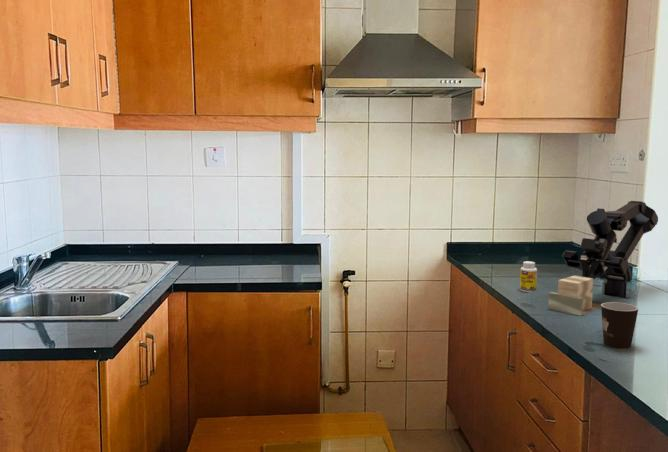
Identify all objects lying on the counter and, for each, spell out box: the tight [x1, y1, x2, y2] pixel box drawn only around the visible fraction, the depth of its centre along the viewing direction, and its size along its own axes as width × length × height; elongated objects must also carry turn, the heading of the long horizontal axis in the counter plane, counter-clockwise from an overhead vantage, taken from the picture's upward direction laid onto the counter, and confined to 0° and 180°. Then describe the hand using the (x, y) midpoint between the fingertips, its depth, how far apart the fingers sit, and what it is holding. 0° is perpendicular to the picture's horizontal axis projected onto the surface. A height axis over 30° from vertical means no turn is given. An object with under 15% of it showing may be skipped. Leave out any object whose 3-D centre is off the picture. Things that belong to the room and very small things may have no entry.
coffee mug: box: [600, 301, 639, 350], centre depth 157 cm, size 12×9×10 cm
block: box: [557, 275, 594, 311], centre depth 184 cm, size 10×6×9 cm, turn 132°
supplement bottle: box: [519, 260, 538, 293], centre depth 212 cm, size 6×6×10 cm
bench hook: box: [547, 291, 601, 317], centre depth 186 cm, size 16×10×6 cm, turn 132°
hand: (583, 284), depth 187 cm, fingers closed, pressing on block
